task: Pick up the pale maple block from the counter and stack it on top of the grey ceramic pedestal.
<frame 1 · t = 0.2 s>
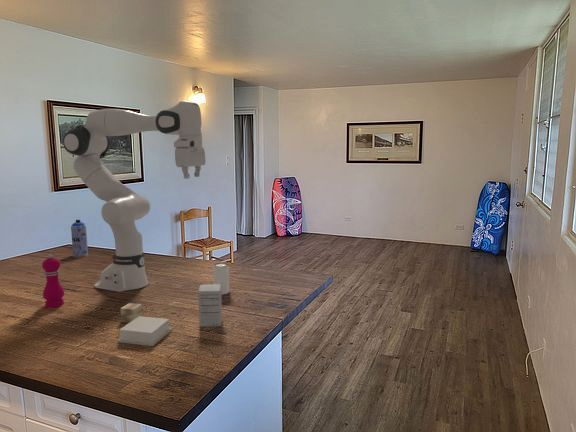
hand: (192, 177, 176), 48 cm above the worktop, tool pointing down, fingers open, 8 cm apart
aerosol can: (80, 255, 244), on the worktop
pepper mill: (54, 305, 168), on the worktop
maple block: (131, 319, 153), on the worktop
supplement box: (210, 323, 151), on the worktop
pedestal: (145, 336, 140), on the worktop
can: (221, 293, 182), on the worktop
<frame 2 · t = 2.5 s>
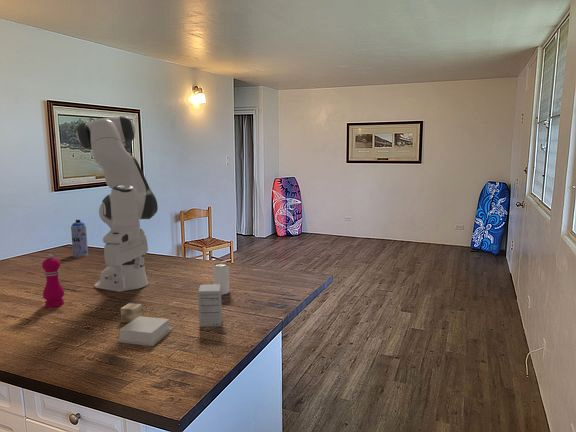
hand: (129, 272, 151), 17 cm above the worktop, tool pointing down, fingers open, 8 cm apart
nothing on the worktop moved.
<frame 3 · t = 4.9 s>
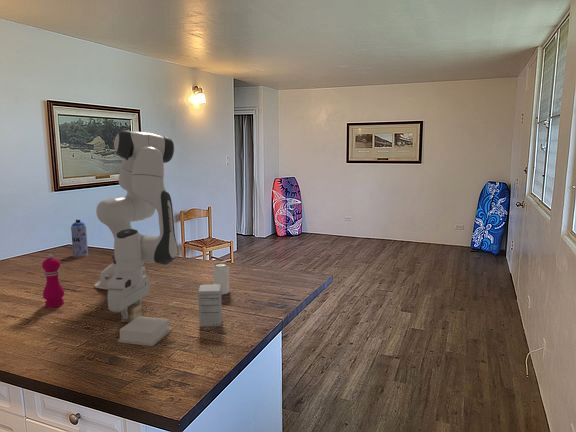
hand: (131, 314, 153), 2 cm above the worktop, tool pointing down, fingers closed on maple block, 5 cm apart
maple block: (132, 319, 153), on the worktop, touching gripper
everything else where it was.
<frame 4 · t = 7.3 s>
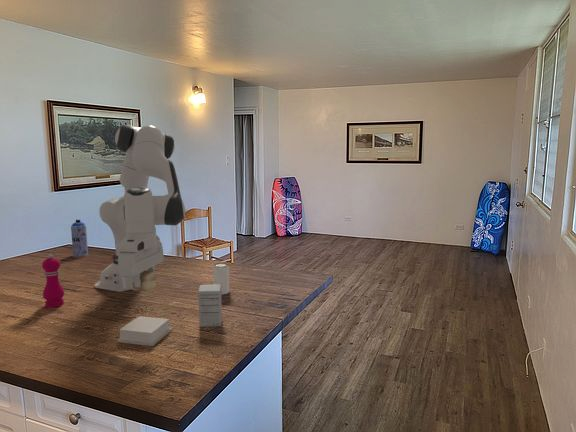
hand: (144, 283, 137), 17 cm above the worktop, tool pointing down, fingers closed on maple block, 5 cm apart
maple block: (144, 288, 138), point 16 cm above the worktop, touching gripper
everything else where it was.
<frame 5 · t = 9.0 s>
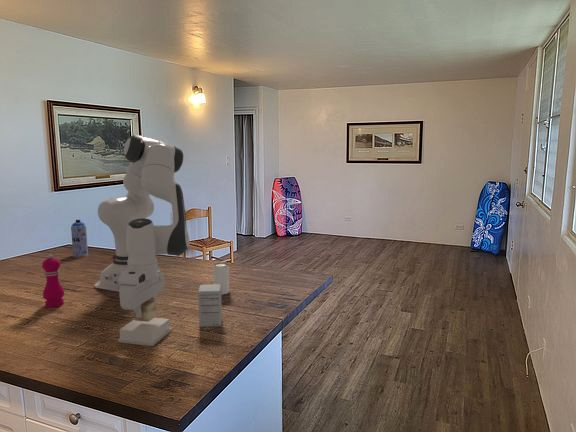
hand: (145, 313, 139), 8 cm above the worktop, tool pointing down, fingers closed on maple block, 5 cm apart
maple block: (145, 317, 139), point 6 cm above the worktop, touching gripper
everything else where it was.
when the fingers open (7 cm above the worktop, at t = 10.0 s): maple block drops 1 cm, resting on pedestal.
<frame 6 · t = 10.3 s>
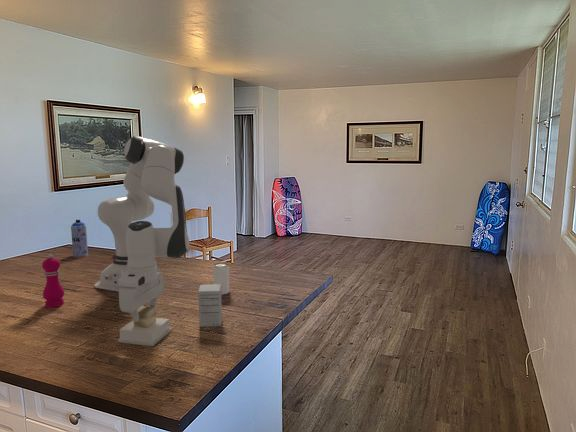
hand: (144, 315, 139), 7 cm above the worktop, tool pointing down, fingers open, 8 cm apart
maple block: (145, 324, 140), point 4 cm above the worktop, touching pedestal
everything else where it was.
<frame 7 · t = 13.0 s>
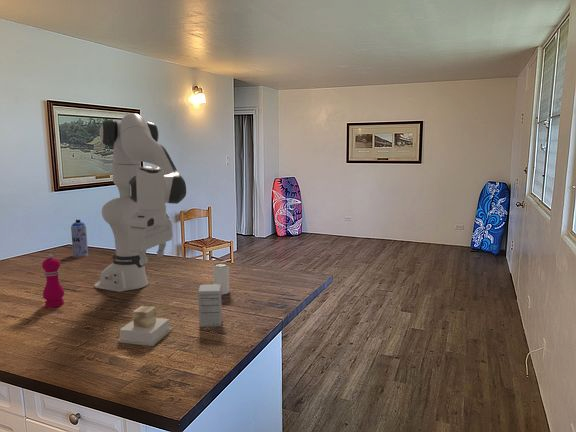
hand: (152, 259, 142), 24 cm above the worktop, tool pointing down, fingers open, 8 cm apart
nothing on the worktop moved.
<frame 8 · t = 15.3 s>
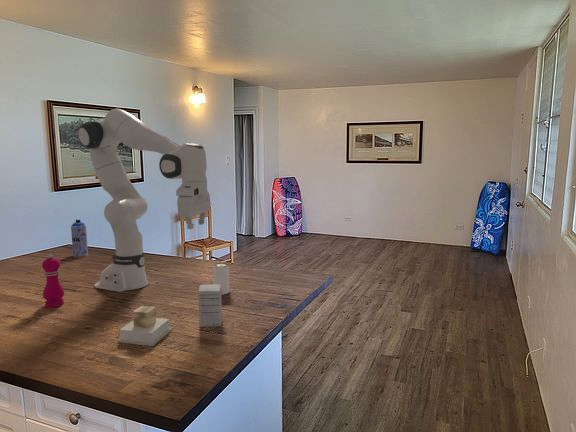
hand: (196, 226, 160), 31 cm above the worktop, tool pointing down, fingers open, 8 cm apart
nothing on the worktop moved.
at the end: maple block inside the target area on the pedestal (0.0 cm from its centre), point 4.0 cm above the pedestal's base; maple block tilted 0°; the gripper is holding nothing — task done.
